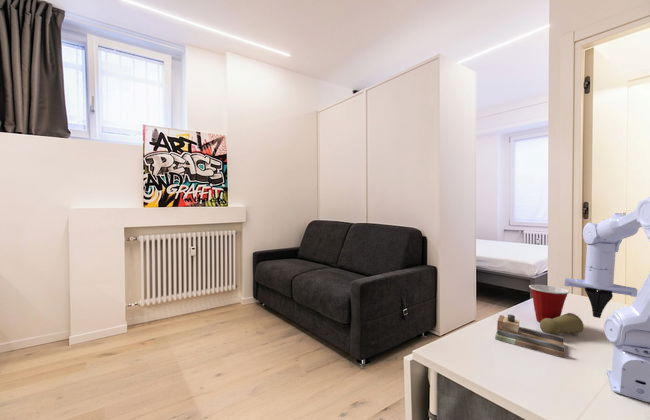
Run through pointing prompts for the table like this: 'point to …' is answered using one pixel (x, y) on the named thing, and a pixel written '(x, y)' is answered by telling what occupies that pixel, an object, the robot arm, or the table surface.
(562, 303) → the plastic cup
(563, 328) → the brown rounded lump
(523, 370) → the table surface
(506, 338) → the track
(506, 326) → the slider
